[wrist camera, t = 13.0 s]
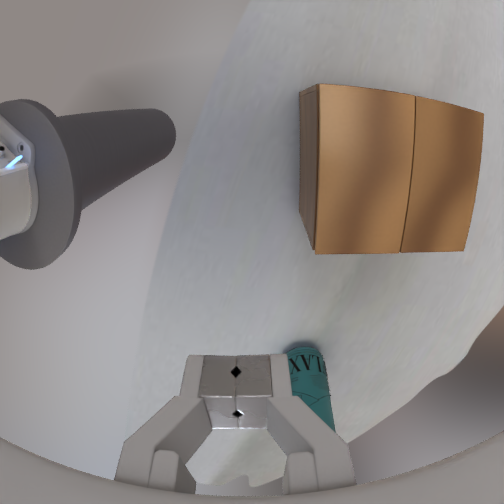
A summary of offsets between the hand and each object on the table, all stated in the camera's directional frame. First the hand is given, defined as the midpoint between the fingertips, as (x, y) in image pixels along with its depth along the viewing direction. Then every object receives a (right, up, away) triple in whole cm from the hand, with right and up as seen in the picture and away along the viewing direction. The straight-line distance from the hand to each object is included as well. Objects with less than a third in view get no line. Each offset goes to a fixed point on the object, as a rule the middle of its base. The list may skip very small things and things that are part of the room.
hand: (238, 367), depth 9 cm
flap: (+9, +9, +12) cm, 17 cm away
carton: (+13, +14, +20) cm, 28 cm away
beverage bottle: (+8, -11, +34) cm, 36 cm away
